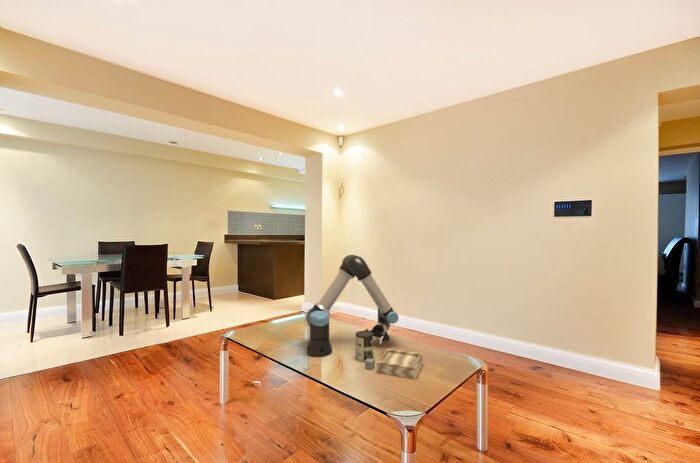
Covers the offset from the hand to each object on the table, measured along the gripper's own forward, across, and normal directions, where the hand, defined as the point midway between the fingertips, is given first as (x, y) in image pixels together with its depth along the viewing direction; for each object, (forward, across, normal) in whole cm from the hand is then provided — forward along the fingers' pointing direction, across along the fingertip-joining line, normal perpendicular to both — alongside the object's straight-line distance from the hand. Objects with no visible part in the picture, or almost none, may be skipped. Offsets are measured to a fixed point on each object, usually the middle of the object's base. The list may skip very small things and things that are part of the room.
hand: (368, 340), depth 185 cm
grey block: (+17, -6, -8) cm, 20 cm away
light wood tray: (+11, -21, -8) cm, 25 cm away
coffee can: (+6, +1, -9) cm, 10 cm away
